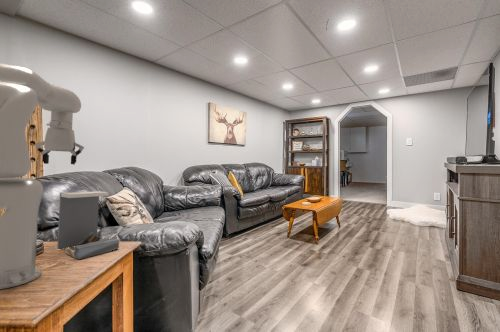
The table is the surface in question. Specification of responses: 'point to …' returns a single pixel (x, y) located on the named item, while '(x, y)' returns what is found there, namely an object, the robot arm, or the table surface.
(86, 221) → the upright grey panel
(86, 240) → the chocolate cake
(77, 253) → the long grey base block
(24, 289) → the table surface
